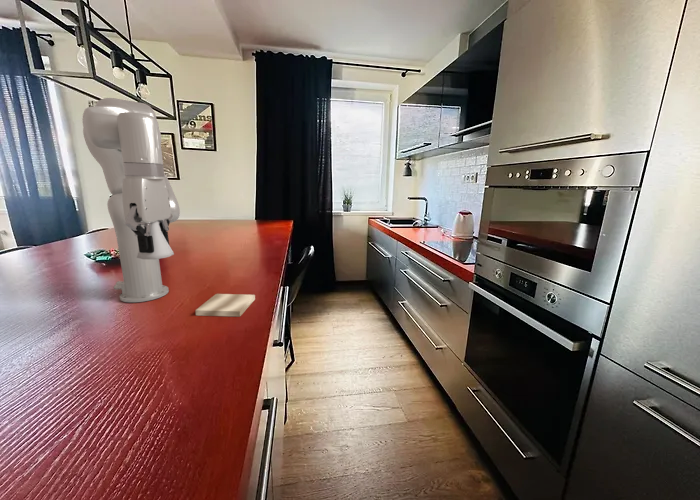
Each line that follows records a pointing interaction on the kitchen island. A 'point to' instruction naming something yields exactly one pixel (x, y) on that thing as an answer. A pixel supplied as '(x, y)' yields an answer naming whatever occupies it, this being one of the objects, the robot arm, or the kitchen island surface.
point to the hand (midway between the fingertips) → (155, 248)
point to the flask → (157, 244)
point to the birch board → (225, 305)
